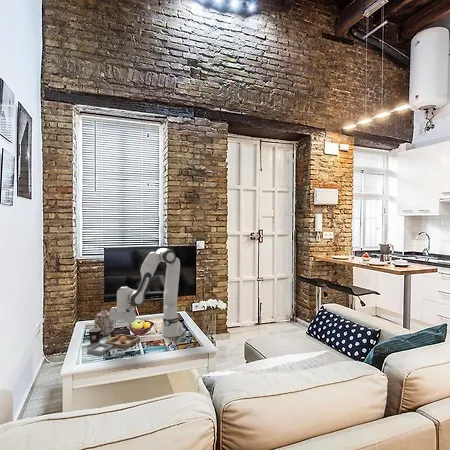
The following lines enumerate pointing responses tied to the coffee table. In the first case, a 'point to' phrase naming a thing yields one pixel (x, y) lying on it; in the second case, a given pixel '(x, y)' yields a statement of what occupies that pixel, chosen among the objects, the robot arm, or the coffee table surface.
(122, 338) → the ball
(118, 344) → the brown wooden tray
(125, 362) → the coffee table surface
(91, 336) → the coffee mug
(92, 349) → the tray
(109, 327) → the decorative jar
